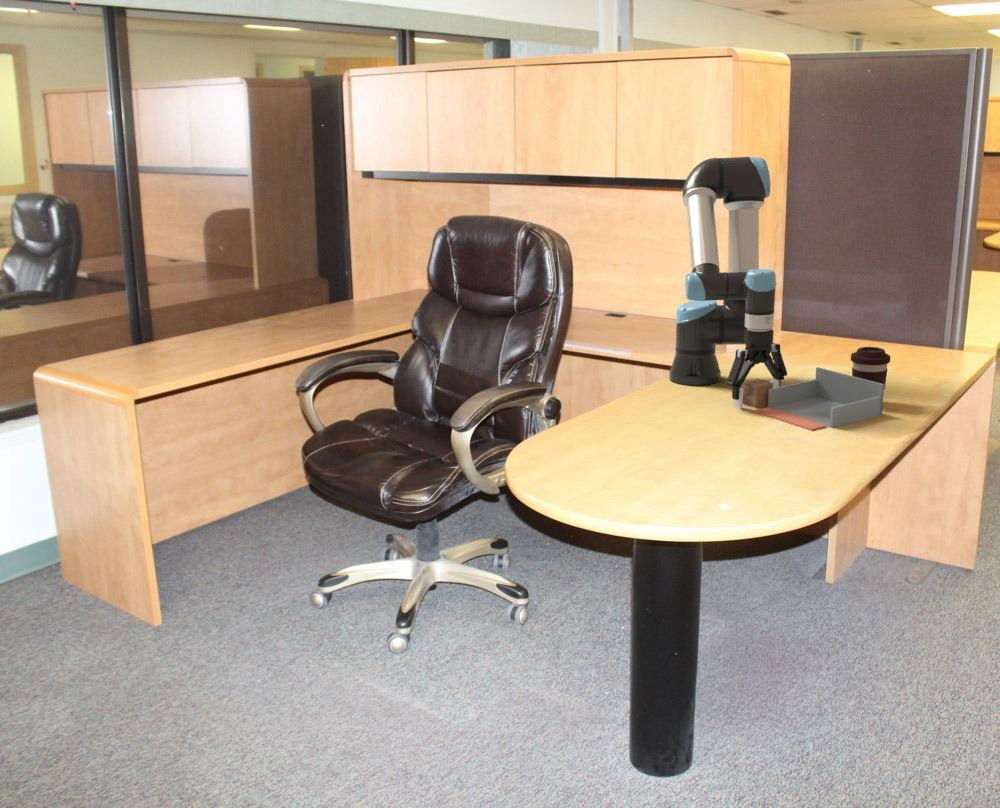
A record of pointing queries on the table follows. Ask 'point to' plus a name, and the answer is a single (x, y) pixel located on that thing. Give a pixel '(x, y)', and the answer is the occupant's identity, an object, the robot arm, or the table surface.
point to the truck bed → (830, 398)
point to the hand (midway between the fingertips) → (756, 406)
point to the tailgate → (790, 419)
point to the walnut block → (756, 392)
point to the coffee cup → (870, 364)
